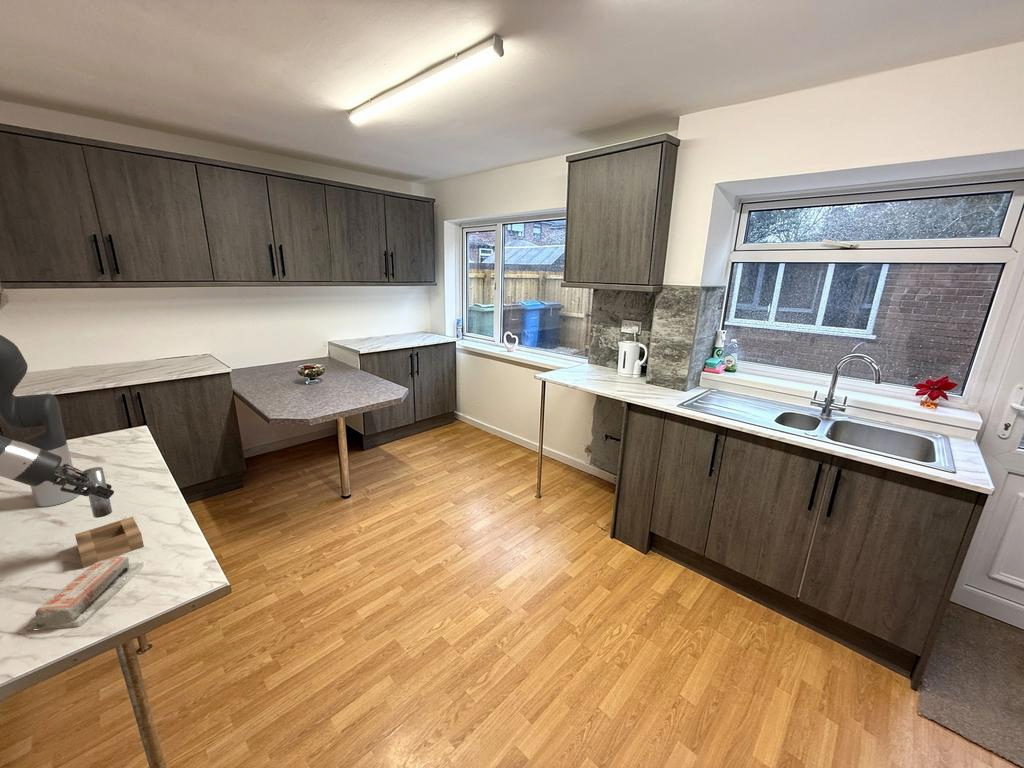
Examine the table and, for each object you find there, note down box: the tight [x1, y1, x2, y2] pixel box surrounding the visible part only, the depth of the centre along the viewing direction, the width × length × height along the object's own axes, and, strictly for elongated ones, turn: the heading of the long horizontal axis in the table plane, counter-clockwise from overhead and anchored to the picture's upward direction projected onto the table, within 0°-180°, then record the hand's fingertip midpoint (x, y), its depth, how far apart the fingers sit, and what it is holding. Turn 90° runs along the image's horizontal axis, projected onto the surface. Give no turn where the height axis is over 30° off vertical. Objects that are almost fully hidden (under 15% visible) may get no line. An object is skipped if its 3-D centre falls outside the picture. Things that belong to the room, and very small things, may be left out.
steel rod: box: [82, 466, 113, 519], centre depth 101 cm, size 3×3×12 cm
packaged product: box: [24, 555, 145, 631], centre depth 89 cm, size 18×5×10 cm
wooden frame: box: [74, 516, 145, 569], centre depth 105 cm, size 11×11×4 cm
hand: (109, 492), depth 103 cm, fingers closed on steel rod, 3 cm apart
